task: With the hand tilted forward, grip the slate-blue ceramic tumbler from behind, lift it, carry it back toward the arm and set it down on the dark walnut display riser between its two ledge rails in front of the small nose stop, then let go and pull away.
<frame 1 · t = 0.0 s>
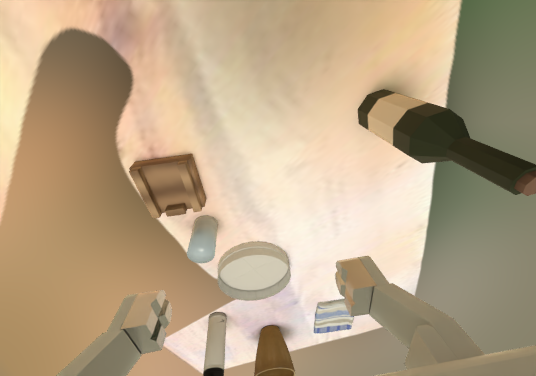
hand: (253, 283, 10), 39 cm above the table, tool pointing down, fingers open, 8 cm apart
dish towel: (334, 312, 93), on the table
tumbler: (206, 224, 58), on the table
plant pot: (269, 329, 93), on the table
travel mug: (217, 315, 83), on the table
wine bottle: (375, 110, 47), on the table
riser: (173, 181, 50), on the table
dish: (253, 265, 70), on the table
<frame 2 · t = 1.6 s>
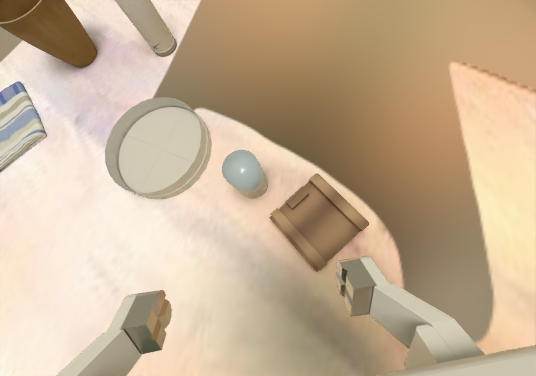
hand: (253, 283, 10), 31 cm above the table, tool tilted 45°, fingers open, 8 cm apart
dish towel: (13, 128, 61), on the table
tumbler: (253, 183, 45), on the table
plant pot: (86, 56, 63), on the table
travel mug: (166, 48, 59), on the table
riser: (316, 221, 41), on the table
dish: (166, 152, 51), on the table
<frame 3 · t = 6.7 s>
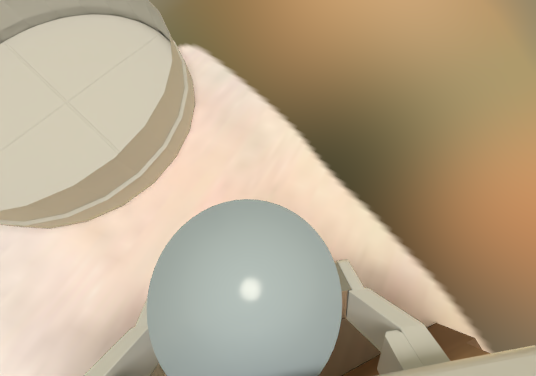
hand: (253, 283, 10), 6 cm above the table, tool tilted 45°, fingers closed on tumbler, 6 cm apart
tumbler: (258, 272, 16), on the table, touching gripper
dish: (81, 113, 21), on the table
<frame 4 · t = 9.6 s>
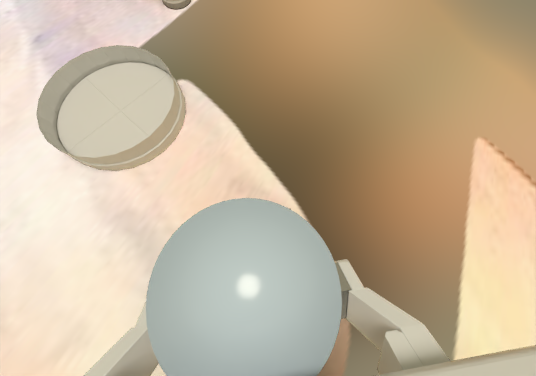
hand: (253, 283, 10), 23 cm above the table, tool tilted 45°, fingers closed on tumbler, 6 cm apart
tumbler: (258, 272, 16), point 17 cm above the table, touching gripper
travel mug: (178, 1, 49), on the table
dish: (126, 116, 41), on the table
when the fingers open (11 cm above the table, at t = 12.6 s): tumbler drops 2 cm, resting on riser.
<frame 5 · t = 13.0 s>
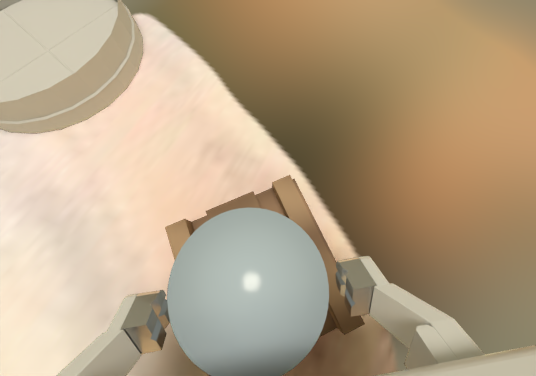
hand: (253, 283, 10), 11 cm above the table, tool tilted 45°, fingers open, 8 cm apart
tumbler: (259, 270, 18), point 3 cm above the table, touching riser
riser: (260, 269, 21), on the table
dish: (59, 61, 29), on the table
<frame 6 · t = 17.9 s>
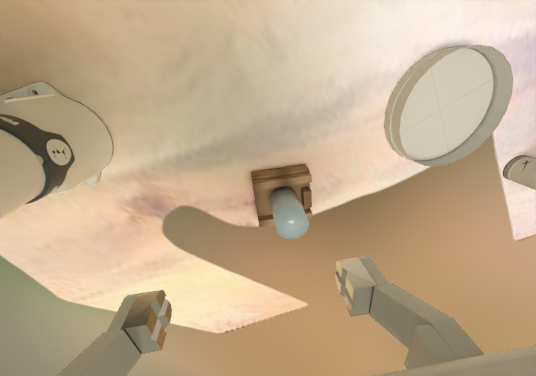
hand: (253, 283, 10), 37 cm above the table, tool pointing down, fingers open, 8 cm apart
tumbler: (283, 198, 48), point 3 cm above the table, touching riser
travel mug: (513, 167, 55), on the table
riser: (280, 192, 51), on the table
dish: (433, 109, 46), on the table
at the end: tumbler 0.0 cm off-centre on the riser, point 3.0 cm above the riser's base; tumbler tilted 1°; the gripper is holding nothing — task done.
